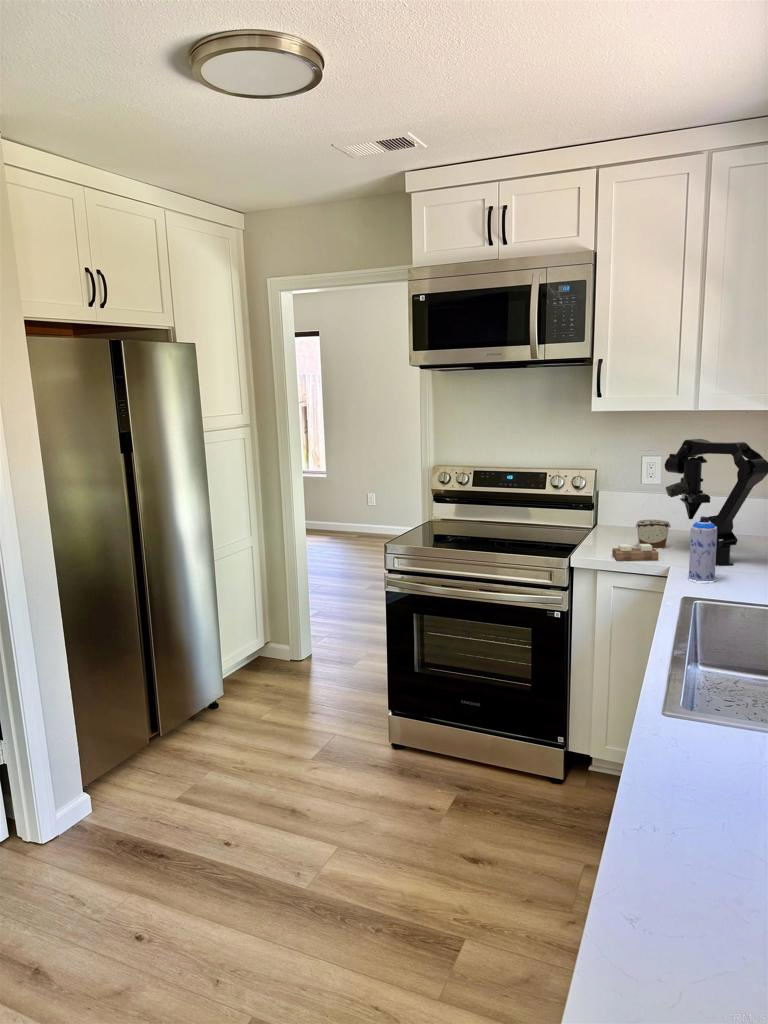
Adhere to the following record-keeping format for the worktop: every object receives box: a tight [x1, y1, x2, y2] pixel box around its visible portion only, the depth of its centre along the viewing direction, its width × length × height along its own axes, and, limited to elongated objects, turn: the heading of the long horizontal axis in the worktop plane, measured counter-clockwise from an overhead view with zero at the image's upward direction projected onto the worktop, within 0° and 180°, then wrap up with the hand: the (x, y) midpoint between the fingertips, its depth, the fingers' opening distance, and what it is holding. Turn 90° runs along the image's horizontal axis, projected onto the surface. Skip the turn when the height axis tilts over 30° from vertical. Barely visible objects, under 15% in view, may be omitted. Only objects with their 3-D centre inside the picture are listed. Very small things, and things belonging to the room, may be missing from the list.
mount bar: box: [611, 547, 660, 562], centre depth 246 cm, size 7×14×3 cm, turn 85°
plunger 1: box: [617, 543, 633, 551], centre depth 247 cm, size 4×4×5 cm
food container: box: [635, 519, 671, 550], centre depth 262 cm, size 12×6×10 cm, turn 84°
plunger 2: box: [638, 543, 652, 551], centre depth 246 cm, size 4×4×5 cm
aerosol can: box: [688, 516, 717, 581], centre depth 216 cm, size 8×8×20 cm
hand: (690, 519), depth 246 cm, fingers closed
